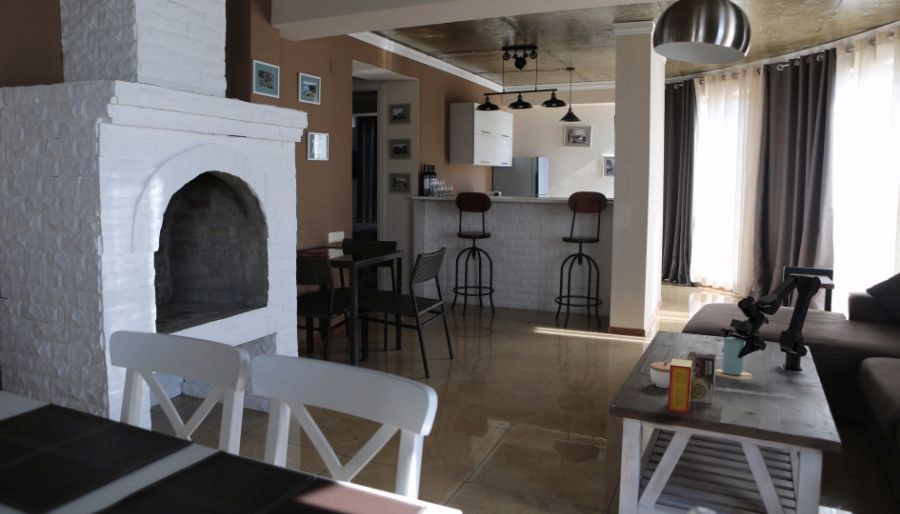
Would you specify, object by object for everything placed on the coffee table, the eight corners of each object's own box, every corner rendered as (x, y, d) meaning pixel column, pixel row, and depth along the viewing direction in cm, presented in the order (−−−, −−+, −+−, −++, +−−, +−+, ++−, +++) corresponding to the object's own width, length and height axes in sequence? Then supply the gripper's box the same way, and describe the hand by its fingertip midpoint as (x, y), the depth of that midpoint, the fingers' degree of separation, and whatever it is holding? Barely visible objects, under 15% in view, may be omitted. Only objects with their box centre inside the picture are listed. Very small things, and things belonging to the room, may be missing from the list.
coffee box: (714, 399, 245) (717, 354, 243) (712, 404, 239) (715, 358, 237) (687, 395, 249) (689, 351, 247) (684, 400, 243) (687, 355, 241)
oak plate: (710, 370, 283) (710, 367, 283) (750, 373, 278) (750, 370, 278) (712, 380, 268) (712, 377, 268) (754, 384, 264) (754, 381, 264)
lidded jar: (681, 391, 254) (682, 366, 253) (650, 388, 256) (651, 363, 255) (677, 382, 264) (678, 358, 263) (648, 380, 266) (649, 356, 265)
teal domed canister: (725, 367, 278) (727, 336, 276) (744, 371, 274) (746, 339, 272) (719, 371, 273) (721, 339, 271) (738, 375, 268) (741, 342, 266)
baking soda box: (669, 402, 240) (672, 357, 239) (689, 405, 238) (692, 359, 236) (667, 410, 232) (670, 363, 230) (688, 413, 229) (691, 366, 227)
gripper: (724, 307, 280) (702, 337, 277) (762, 316, 264) (739, 347, 260) (737, 325, 285) (716, 354, 281) (776, 335, 268) (753, 366, 265)
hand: (730, 355), depth 272 cm, fingers open, 7 cm apart
